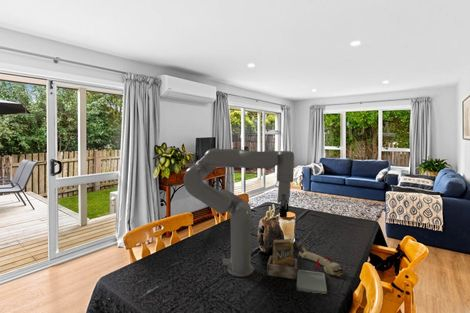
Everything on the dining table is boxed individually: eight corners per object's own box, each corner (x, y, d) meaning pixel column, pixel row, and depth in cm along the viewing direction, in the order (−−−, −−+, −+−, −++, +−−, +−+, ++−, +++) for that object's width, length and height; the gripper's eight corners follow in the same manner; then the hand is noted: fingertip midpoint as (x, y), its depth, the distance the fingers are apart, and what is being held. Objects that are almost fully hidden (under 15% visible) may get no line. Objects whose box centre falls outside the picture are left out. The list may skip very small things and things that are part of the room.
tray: (296, 290, 110) (296, 286, 110) (297, 272, 124) (297, 269, 124) (326, 295, 107) (326, 291, 107) (324, 276, 121) (324, 273, 121)
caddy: (267, 275, 122) (267, 264, 121) (269, 265, 131) (270, 255, 131) (296, 279, 118) (296, 268, 118) (296, 268, 128) (297, 258, 127)
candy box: (273, 274, 123) (274, 242, 121) (272, 269, 127) (273, 238, 125) (292, 274, 123) (293, 242, 122) (290, 269, 127) (291, 238, 126)
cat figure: (295, 260, 139) (333, 279, 118) (294, 244, 139) (332, 260, 117) (308, 256, 144) (348, 274, 122) (308, 240, 144) (347, 255, 122)
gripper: (278, 174, 130) (277, 208, 132) (274, 180, 114) (273, 219, 115) (294, 175, 128) (293, 209, 130) (292, 181, 112) (291, 220, 113)
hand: (284, 214), depth 122 cm, fingers open, 9 cm apart
